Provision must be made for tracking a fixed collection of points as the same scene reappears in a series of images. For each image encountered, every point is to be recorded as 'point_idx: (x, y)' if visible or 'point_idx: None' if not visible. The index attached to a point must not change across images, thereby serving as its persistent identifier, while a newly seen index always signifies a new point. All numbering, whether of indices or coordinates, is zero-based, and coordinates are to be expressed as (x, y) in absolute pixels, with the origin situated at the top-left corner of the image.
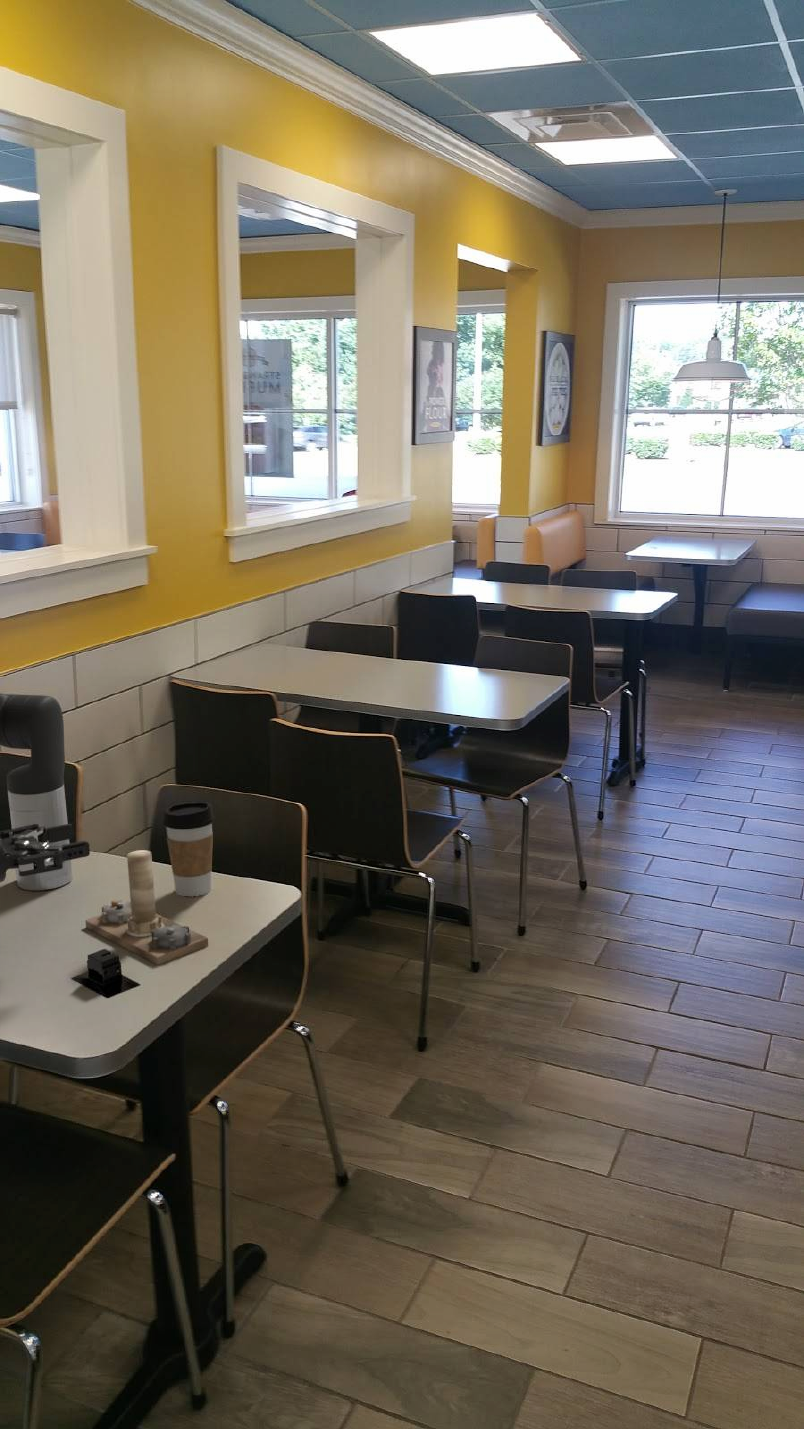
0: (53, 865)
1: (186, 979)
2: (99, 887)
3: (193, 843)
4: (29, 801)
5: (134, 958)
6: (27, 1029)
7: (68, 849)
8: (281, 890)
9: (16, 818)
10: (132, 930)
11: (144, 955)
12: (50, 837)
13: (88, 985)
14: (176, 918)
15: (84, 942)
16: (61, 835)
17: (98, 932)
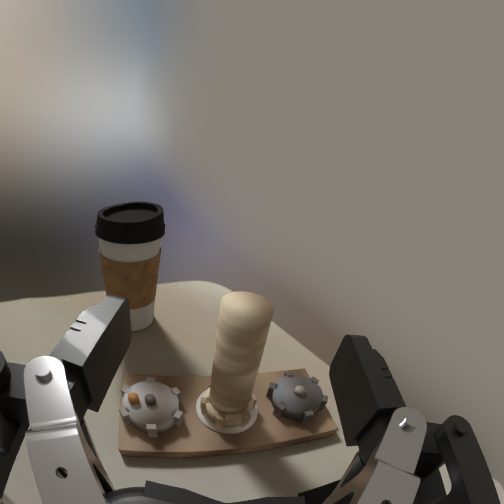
0: (423, 477)
1: None
2: (22, 358)
3: (156, 259)
4: None
5: (296, 453)
6: None
7: (396, 399)
8: (204, 283)
9: None
10: (232, 425)
11: (304, 440)
12: (95, 391)
13: None
14: (194, 366)
15: (181, 487)
16: (111, 356)
17: (163, 456)
